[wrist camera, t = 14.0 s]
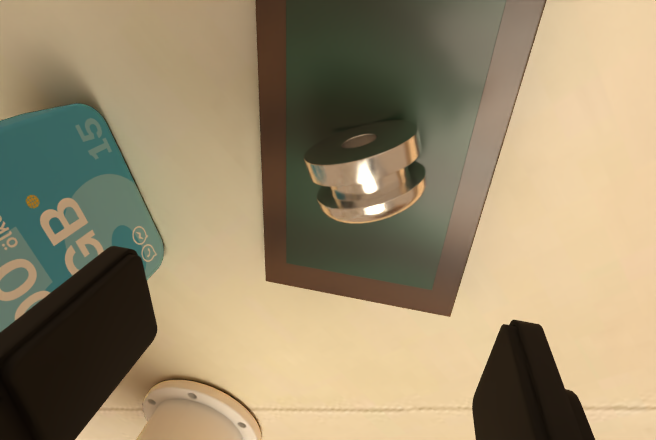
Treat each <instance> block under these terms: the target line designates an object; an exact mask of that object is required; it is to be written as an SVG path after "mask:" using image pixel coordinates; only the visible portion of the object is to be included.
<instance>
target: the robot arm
mask: <svg viewBox="0 0 656 440" xmlns="http://www.w3.org/2000/svg"><path fill="white" fill-rule="evenodd" d="M156 333H157V324H156V319H155V315H154V310H153V306H152V302H151V297H150V293H149V288H148V284H147V279H146V275H145V270H144V266H143V261H142V258H141V257H140V256H138V254H137V252H136V251H135V250H133V249H129V248H124V247H118V246H110V247H109V248H107V249H106V250H104V251H103V252H102V253H101V254H99V255H98V256H97V257H95V258H94V259H93V260H92V261H90V262H89V263H88V264H87V265H85V266H84V267H83V268H82V269H80V270H79V271H78V272H76V273H75V274H74V275H73V276H71V277H70V278H69V279H68V280H66V281H65V282H64V283H62V284H61V285H60V286H59V287H57V288H56V289H55V290H54V291H52V292H51V293H50V294H48V295H47V296H46V297H45V298H43V299H42V300H41V301H40V302H38V303H37V304H36V305H34V306H33V307H32V308H31V309H29V310H28V311H27V312H26V313H24V314H23V315H22V316H20V317H19V318H18V319H17V320H15V321H14V322H13V323H12V324H10V325H9V326H8V327H6V328H5V329H4V330H3V331H1V332H0V440H75V439H76V438H77V436H78V435H79V434H80V432H81V431H82V430H83V429H84V427H85V426H86V425H87V424H88V422H89V421H90V420H91V419H92V417H93V416H94V415H95V414H96V412H97V411H98V410H99V408H100V407H101V406H102V405H103V403H104V402H105V401H106V400H107V398H108V397H109V396H110V395H111V393H112V392H113V391H114V390H115V388H116V387H117V386H118V384H119V383H120V382H121V381H122V379H123V378H124V377H125V376H126V374H127V373H128V372H129V371H130V369H131V368H132V367H133V366H134V364H135V363H136V362H137V360H138V359H139V358H140V357H141V355H142V354H143V353H144V352H145V350H146V349H147V348H148V347H149V345H150V344H151V343H152V341H153V340H154V338H155V336H156ZM472 410H473V419H474V427H475V435H476V440H595V438H594V436H593V433H592V431H591V428H590V425H589V423H588V420H587V418H586V415H585V413H584V410H583V408H582V405H581V403H580V401H579V399H578V397H577V395H576V394H575V393H574V392H573V391H570V390H566V389H565V388H564V385H563V382H562V380H561V377H560V374H559V371H558V369H557V366H556V363H555V361H554V358H553V355H552V352H551V350H550V347H549V344H548V341H547V339H546V336H545V333H544V331H543V328H542V326H540V325H539V324H534V323H529V322H523V321H518V320H512V321H511V323H510V324H509V325H505V324H503V325H502V326H501V328H500V331H499V333H498V336H497V338H496V341H495V344H494V346H493V349H492V351H491V354H490V356H489V359H488V361H487V364H486V366H485V369H484V371H483V374H482V377H481V379H480V382H479V384H478V387H477V389H476V392H475V394H474V398H473V406H472ZM143 413H144V416H145V418H146V420H147V424H146V425H145V427H144V428H143V430H142V432H141V433H140V435H139V436H138V438H137V439H136V440H261V431H260V428H259V426H258V424H257V422H256V420H255V419H254V417H253V416H252V415H251V414H250V413H249V411H248V410H247V409H246V408H245V407H243V406H242V405H241V404H240V403H239V402H238V401H236V400H235V399H233V398H232V397H230V396H229V395H227V394H225V393H223V392H221V391H219V390H218V389H215V388H213V387H210V386H208V385H205V384H202V383H198V382H194V381H188V380H168V381H163V382H161V383H158V384H156V385H155V386H154V387H152V388H151V389H150V391H149V392H148V394H147V395H146V397H145V398H144V401H143Z"/></svg>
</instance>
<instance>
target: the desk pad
mask: <svg viewBox="0 0 656 440" xmlns="http://www.w3.org/2000/svg"><path fill="white" fill-rule="evenodd" d="M545 3H546V0H256V23H257V50H258V78H259V106H260V133H261V161H262V188H263V216H264V244H265V271H266V281H268V282H274V283H279V284H284V285H289V286H294V287H299V288H304V289H310V290H315V291H320V292H325V293H330V294H335V295H340V296H346V297H351V298H356V299H361V300H366V301H371V302H376V303H382V304H387V305H392V306H397V307H402V308H407V309H412V310H418V311H423V312H428V313H433V314H438V315H443V316H448V317H450V316H451V312H452V309H453V306H454V302H455V299H456V296H457V293H458V289H459V286H460V283H461V279H462V276H463V273H464V270H465V266H466V263H467V260H468V256H469V253H470V250H471V247H472V243H473V240H474V237H475V233H476V230H477V227H478V224H479V220H480V217H481V214H482V210H483V207H484V204H485V201H486V197H487V194H488V191H489V187H490V184H491V181H492V178H493V174H494V171H495V168H496V164H497V161H498V158H499V155H500V151H501V148H502V145H503V141H504V138H505V135H506V132H507V128H508V125H509V122H510V118H511V115H512V112H513V109H514V105H515V102H516V99H517V95H518V92H519V89H520V86H521V82H522V79H523V76H524V72H525V69H526V66H527V63H528V59H529V56H530V53H531V49H532V46H533V43H534V40H535V36H536V33H537V30H538V26H539V23H540V20H541V17H542V13H543V10H544V7H545ZM388 120H405V121H410V122H413V123H415V124H416V125H417V126H418V131H419V136H420V142H421V147H422V151H421V153H420V155H419V156H418V158H417V159H416V160H414V161H416V162H418V163H420V164H422V165H423V166H424V167H425V169H426V174H427V187H426V190H425V192H424V194H423V195H422V197H421V198H420V199H419V200H418V201H417V202H416V203H415V204H414V205H413V206H411V207H410V208H409V209H407V210H405V211H404V212H402V213H400V214H398V215H395V216H393V217H390V218H387V219H384V220H381V221H376V222H371V223H364V224H347V223H341V222H338V221H335V220H333V219H331V218H329V217H328V216H326V215H325V214H324V213H323V212H322V210H321V208H320V206H319V203H318V200H317V193H318V191H319V189H320V188H321V187H322V185H318V184H316V183H314V182H313V181H312V180H311V179H310V176H309V173H308V170H307V167H306V164H305V161H304V155H305V153H306V152H307V150H308V149H309V148H311V147H312V146H313V145H315V144H316V143H318V142H319V141H321V140H323V139H325V138H327V137H329V136H331V135H334V134H336V133H339V132H341V131H344V130H347V129H350V128H353V127H357V126H361V125H365V124H369V123H374V122H380V121H388Z"/></svg>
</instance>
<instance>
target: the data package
mask: <svg viewBox="0 0 656 440" xmlns="http://www.w3.org/2000/svg"><path fill="white" fill-rule="evenodd" d="M110 246H118V247H124V248H129V249H133V250H135V251H136V252H137V254H138V256H140V257H141V258H142V261H143V266H144V270H145V275H146V279H147V280H148V279H149V278H150V277H151V276H152V275H153V273H154V272H155V271H156V270H157V269H158V268H159V267H160V265H161V263H162V260H163V256H164V246H163V242H162V239H161V237H160V235H159V233H158V231H157V229H156V227H155V225H154V222H153V220H152V218H151V216H150V214H149V212H148V210H147V208H146V205H145V203H144V201H143V199H142V197H141V195H140V193H139V191H138V189H137V186H136V184H135V182H134V180H133V178H132V176H131V174H130V172H129V169H128V167H127V165H126V163H125V161H124V159H123V157H122V155H121V152H120V150H119V148H118V146H117V144H116V142H115V140H114V138H113V136H112V133H111V131H110V129H109V127H108V125H107V123H106V121H105V120H104V118H103V117H102V116H101V114H100V113H99V112H97V111H96V110H95V109H94V108H92V107H90V106H88V105H85V104H80V103H76V104H70V105H65V106H60V107H55V108H50V109H45V110H40V111H35V112H30V113H25V114H21V115H18V116H14V117H11V118H8V119H5V120H1V121H0V332H1V331H3V330H4V329H5V328H6V327H8V326H9V325H10V324H12V323H13V322H14V321H15V320H17V319H18V318H19V317H20V316H22V315H23V314H24V313H26V312H27V311H28V310H29V309H31V308H32V307H33V306H34V305H36V304H37V303H38V302H40V301H41V300H42V299H43V298H45V297H46V296H47V295H48V294H50V293H51V292H52V291H54V290H55V289H56V288H57V287H59V286H60V285H61V284H62V283H64V282H65V281H66V280H68V279H69V278H70V277H71V276H73V275H74V274H75V273H76V272H78V271H79V270H80V269H82V268H83V267H84V266H85V265H87V264H88V263H89V262H90V261H92V260H93V259H94V258H95V257H97V256H98V255H99V254H101V253H102V252H103V251H104V250H106V249H107V248H109V247H110Z"/></svg>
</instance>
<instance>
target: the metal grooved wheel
mask: <svg viewBox="0 0 656 440" xmlns="http://www.w3.org/2000/svg"><path fill="white" fill-rule="evenodd" d="M421 151H422V147H421V142H420V136H419V131H418V126H417V125H416V124H415V123H413V122H410V121H405V120H388V121H380V122H374V123H369V124H365V125H361V126H357V127H353V128H350V129H347V130H344V131H341V132H339V133H336V134H334V135H331V136H329V137H327V138H325V139H323V140H321V141H319V142H318V143H316V144H315V145H313V146H312V147H311V148H309V149H308V150H307V152H306V153H305V155H304V161H305V164H306V167H307V170H308V173H309V176H310V179H311V180H312V181H313V182H314V183H316V184H318V185H322V187H321V188H320V189H319V191H318V193H317V200H318V203H319V206H320V208H321V210H322V212H323V213H324V214H325V215H326V216H328V217H329V218H331V219H333V220H335V221H338V222H341V223H347V224H364V223H371V222H376V221H381V220H384V219H387V218H390V217H393V216H395V215H398V214H400V213H402V212H404V211H405V210H407V209H409V208H410V207H411V206H413V205H414V204H415V203H416V202H417V201H418V200H419V199H420V198H421V197H422V195H423V194H424V192H425V190H426V187H427V174H426V169H425V167H424V166H423V165H422V164H420V163H418V162H416V161H414V160H416V159H417V158H418V156H419V155H420V153H421Z"/></svg>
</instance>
